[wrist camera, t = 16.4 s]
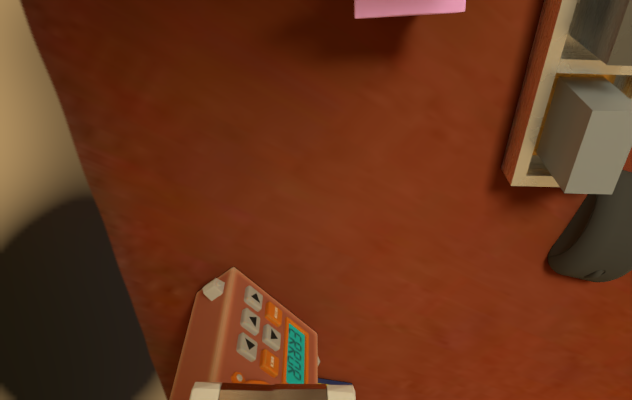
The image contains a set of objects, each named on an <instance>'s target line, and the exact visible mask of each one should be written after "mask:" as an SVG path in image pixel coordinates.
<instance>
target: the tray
mask: <svg viewBox="0 0 632 400" xmlns="http://www.w3.org/2000/svg"><path fill="white" fill-rule="evenodd" d="M558 77H592V78H606V79H607V80H608V81H609V82H611V83H612V84H613V85H614V86H615V87H616V88H618V89H619V90H620V91H621V92H622V93H624V94H625V95H626V96H627V97H628V98H629V99H631V100H632V0H544V4H543V8H542V11H541V15H540V19H539V23H538V27H537V31H536V34H535V38H534V42H533V46H532V50H531V54H530V58H529V61H528V65H527V69H526V73H525V77H524V81H523V85H522V88H521V92H520V96H519V100H518V104H517V108H516V112H515V115H514V119H513V123H512V127H511V131H510V135H509V138H508V142H507V146H506V150H505V154H504V158H503V162H502V165H501V169H502V171H503V173H504V175H505V176H506V178H507V180H508V182H509V184H510V185H511V186H535V187H560V186H559V185H558V184H557V182H556V181H555V179H554V178H553V176H552V175H551V173H550V172H549V171H548V169H547V168H546V166H545V165H544V163H543V162H542V160H541V159H540V157H539V156H538V155H537V153H536V152H537V148H538V145H539V141H540V138H541V135H542V131H543V128H544V125H545V121H546V118H547V114H548V111H549V108H550V104H551V101H552V98H553V94H554V91H555V87H556V84H557V81H558Z"/></svg>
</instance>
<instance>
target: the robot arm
mask: <svg viewBox="0 0 632 400" xmlns="http://www.w3.org/2000/svg"><path fill="white" fill-rule="evenodd" d="M189 400H356V398H355V390H354V387H353V385H327V386H326V384H274V385H270V384H246V383H222V382H195V384H194V386H193V388H192V390H191V394H190V399H189Z"/></svg>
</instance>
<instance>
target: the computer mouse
mask: <svg viewBox="0 0 632 400" xmlns="http://www.w3.org/2000/svg"><path fill="white" fill-rule="evenodd" d="M548 263H549V265H550V267H551V268H552V269H553V270H554V271H555V272H556V273H559V274H562V275H566V276H570V277H575V278H579V279H583V280H588V281H592V282H606V281H611V280H614V279H617V278H619V277H621V276H623V275H625V274H626V273H628V272H629V271H631V270H632V172H628V171H624V170H622V171H621V174H620V176H619V179H618V181H617V184H616V186H615V188H614V191H613V193H612V194H588V196H587V197H586V199H585V200H584V202H583V203H582V205H581V206H580V208H579V209H578V211H577V212H576V214H575V215H574V217H573V218H572V220H571V221H570V223H569V224H568V226H567V227H566V229H565V230H564V232H563V233H562V234H561V236H560V237H559V239H558V240H557V241H556V242H555V244H554V245H553V246H552V248H551V249H550V251H549V254H548Z"/></svg>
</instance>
